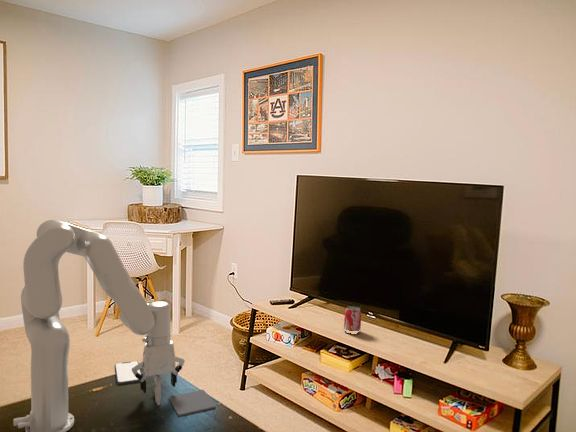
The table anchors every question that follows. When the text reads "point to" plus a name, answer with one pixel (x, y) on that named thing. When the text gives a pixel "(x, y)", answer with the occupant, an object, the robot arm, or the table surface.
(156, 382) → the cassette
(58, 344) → the robot arm
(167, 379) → the table surface
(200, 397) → the pad
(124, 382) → the phone case
